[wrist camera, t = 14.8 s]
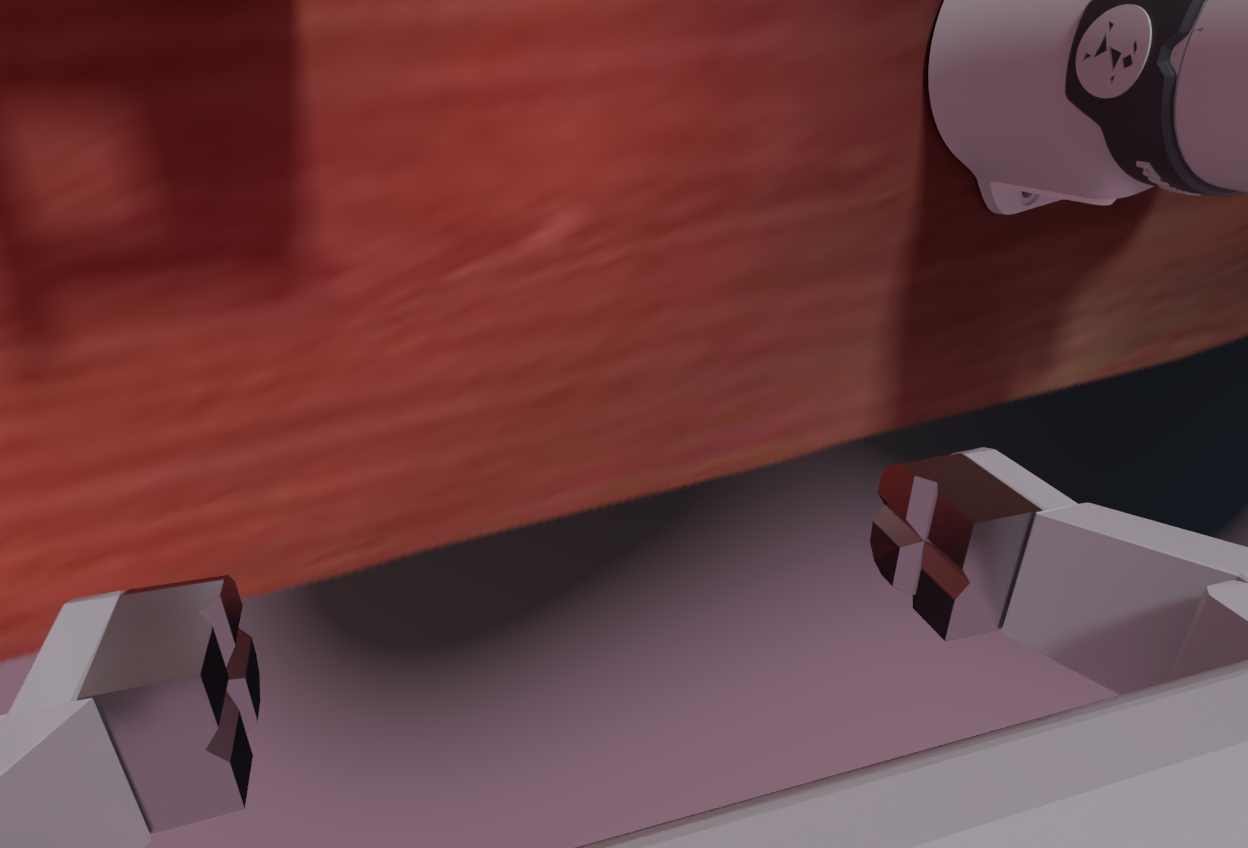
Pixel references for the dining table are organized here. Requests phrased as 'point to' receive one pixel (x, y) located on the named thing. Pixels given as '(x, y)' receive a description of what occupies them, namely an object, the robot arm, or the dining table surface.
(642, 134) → the dining table surface
